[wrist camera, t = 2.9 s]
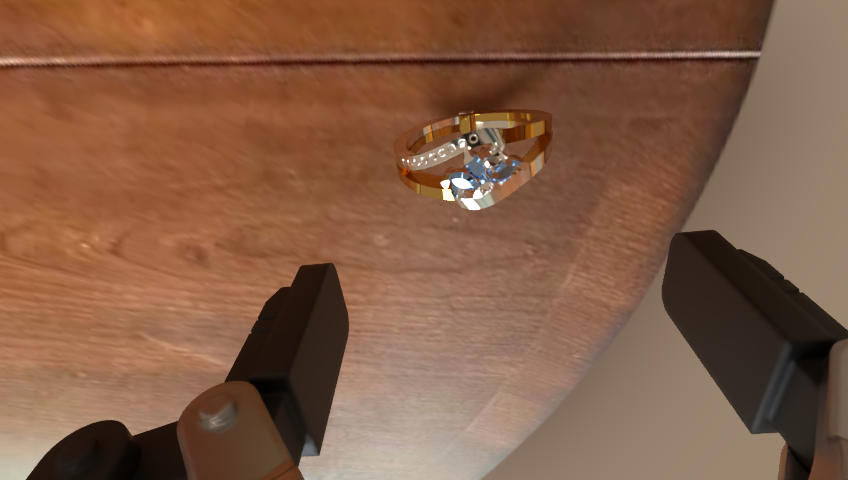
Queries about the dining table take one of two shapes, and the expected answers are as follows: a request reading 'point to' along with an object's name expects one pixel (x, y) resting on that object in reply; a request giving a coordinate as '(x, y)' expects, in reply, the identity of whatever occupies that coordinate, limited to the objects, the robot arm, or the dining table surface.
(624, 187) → the dining table surface
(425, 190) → the ring
